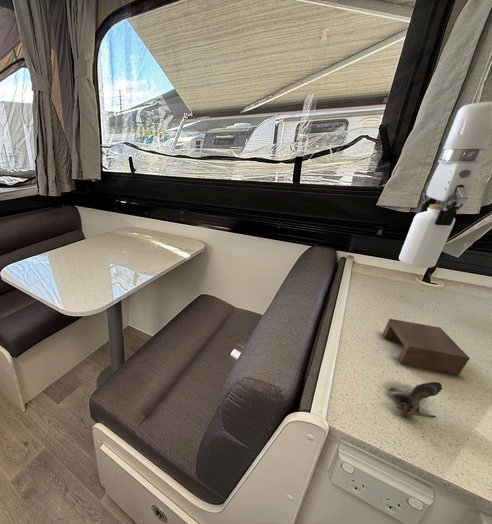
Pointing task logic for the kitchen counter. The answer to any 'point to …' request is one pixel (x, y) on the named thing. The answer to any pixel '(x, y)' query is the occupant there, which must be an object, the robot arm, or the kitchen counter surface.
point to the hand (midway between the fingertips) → (433, 220)
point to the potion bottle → (425, 239)
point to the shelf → (426, 347)
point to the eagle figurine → (415, 398)
